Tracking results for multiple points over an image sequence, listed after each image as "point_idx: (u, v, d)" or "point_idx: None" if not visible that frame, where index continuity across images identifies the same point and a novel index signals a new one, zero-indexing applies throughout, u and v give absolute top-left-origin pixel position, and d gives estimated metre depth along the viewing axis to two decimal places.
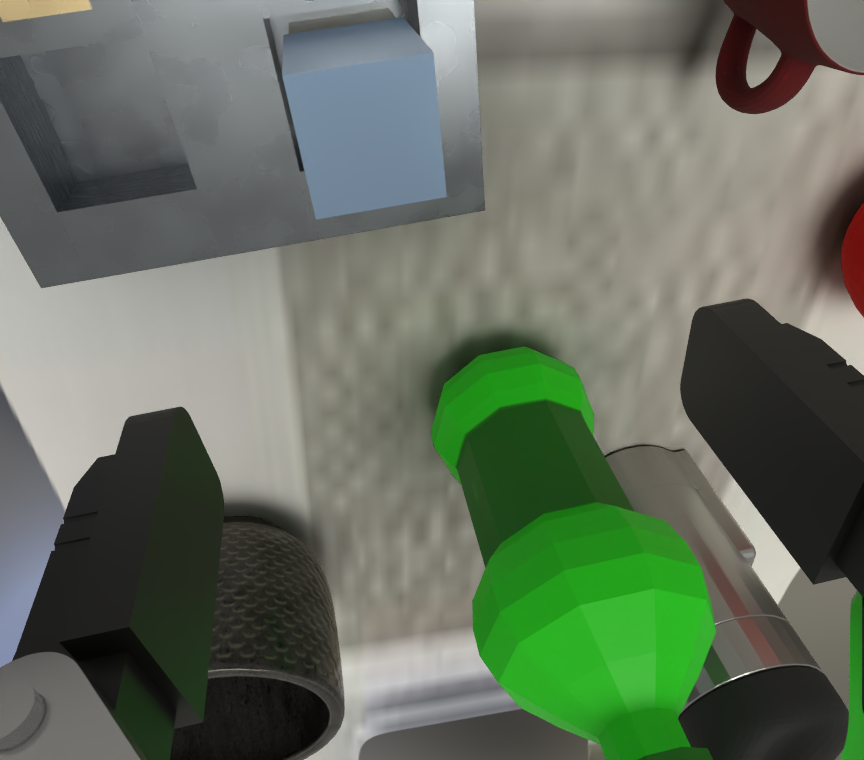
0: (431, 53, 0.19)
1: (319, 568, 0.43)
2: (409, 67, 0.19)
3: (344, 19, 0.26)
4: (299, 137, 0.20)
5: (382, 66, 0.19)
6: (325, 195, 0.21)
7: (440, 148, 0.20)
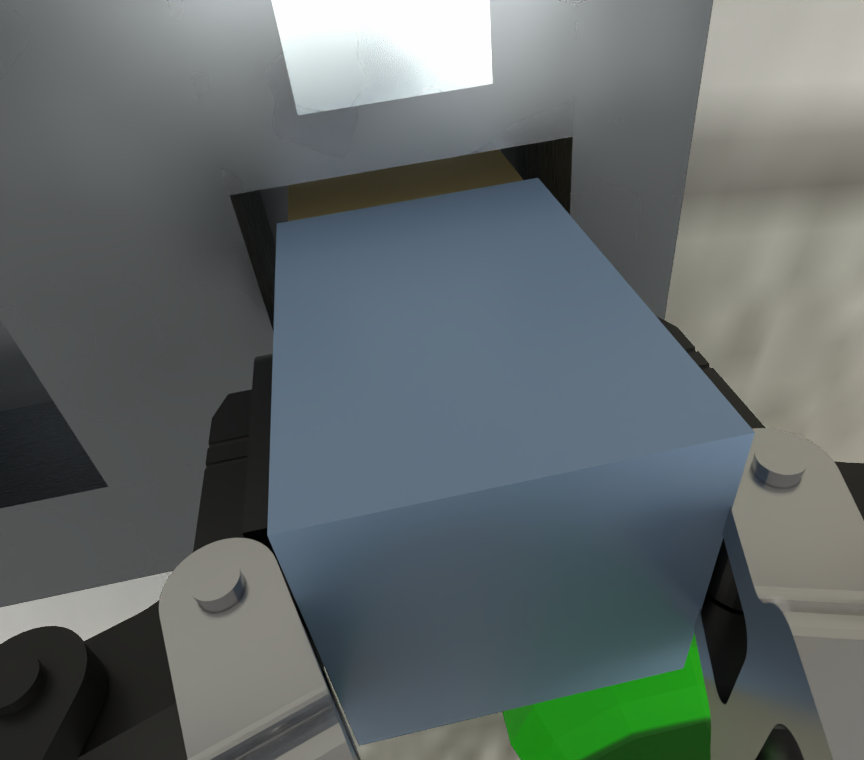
0: (748, 435, 0.06)
1: None
2: (672, 472, 0.06)
3: None
4: (320, 638, 0.07)
5: (593, 477, 0.06)
6: (386, 711, 0.08)
7: (699, 603, 0.08)
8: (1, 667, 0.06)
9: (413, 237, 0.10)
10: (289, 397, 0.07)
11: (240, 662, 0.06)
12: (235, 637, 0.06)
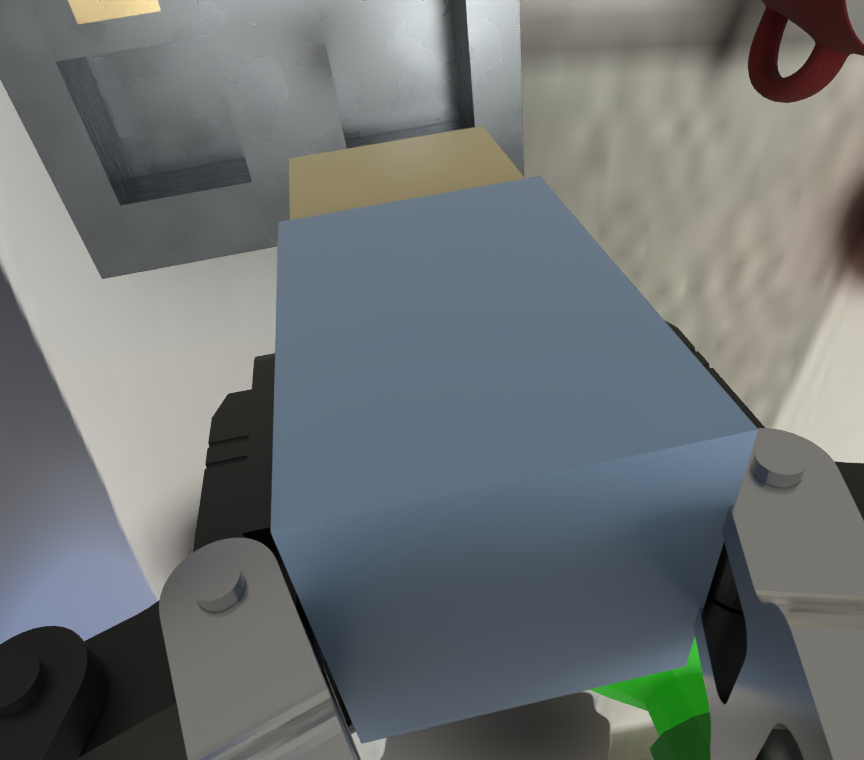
0: (751, 432, 0.06)
1: None
2: (675, 468, 0.06)
3: (402, 159, 0.13)
4: (321, 635, 0.07)
5: (596, 475, 0.06)
6: (388, 709, 0.08)
7: (701, 601, 0.08)
8: (1, 667, 0.06)
9: (415, 235, 0.10)
10: (292, 395, 0.07)
11: (240, 662, 0.06)
12: (236, 637, 0.06)
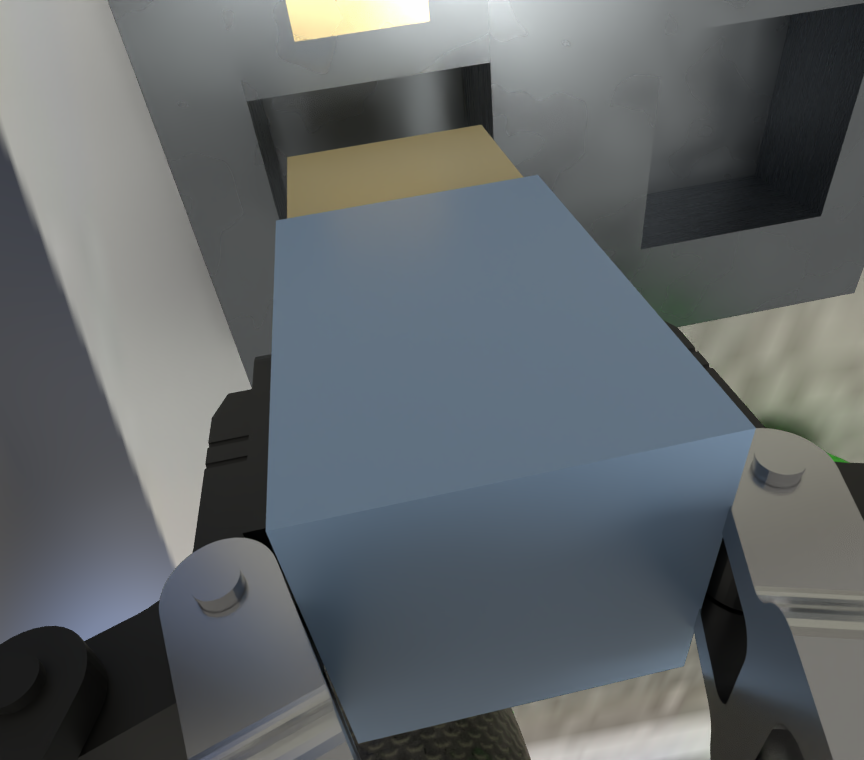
0: (749, 431, 0.06)
1: None
2: (673, 467, 0.06)
3: (400, 158, 0.13)
4: (317, 635, 0.07)
5: (593, 475, 0.06)
6: (385, 709, 0.08)
7: (699, 600, 0.08)
8: (1, 667, 0.06)
9: (413, 234, 0.10)
10: (288, 393, 0.07)
11: (240, 661, 0.06)
12: (235, 636, 0.06)
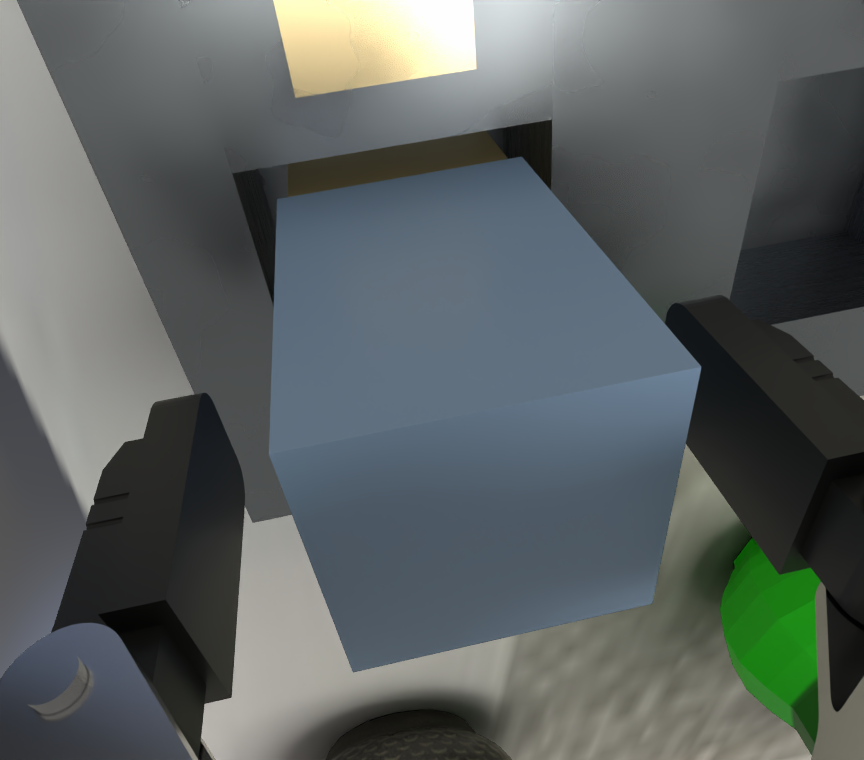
0: (695, 369, 0.07)
1: None
2: (628, 402, 0.07)
3: None
4: (315, 558, 0.07)
5: (557, 407, 0.07)
6: (377, 637, 0.09)
7: (662, 536, 0.08)
8: None
9: (403, 209, 0.10)
10: (288, 344, 0.08)
11: None
12: (83, 733, 0.05)
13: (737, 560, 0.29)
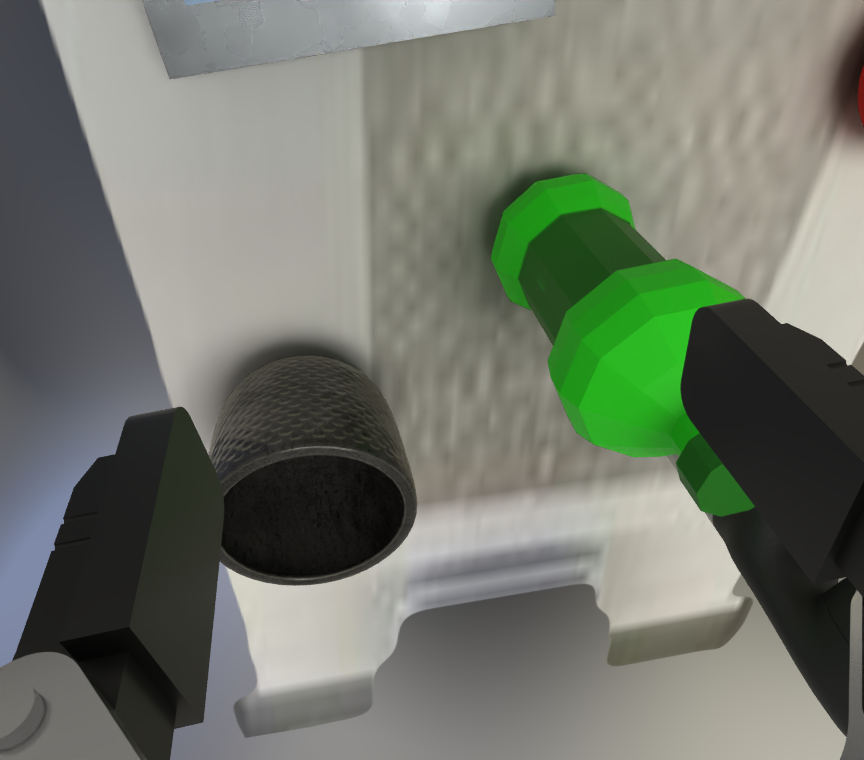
0: None
1: (384, 399, 0.47)
2: None
3: None
4: None
5: None
6: None
7: None
8: None
9: None
10: None
11: None
12: None
13: None
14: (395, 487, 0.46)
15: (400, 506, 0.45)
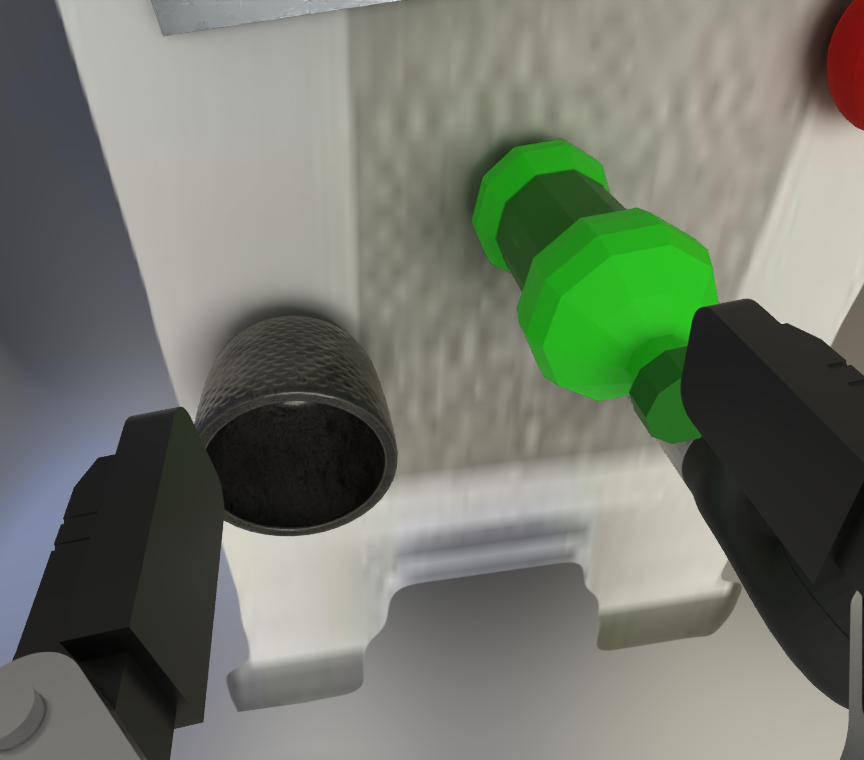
0: None
1: (370, 360, 0.49)
2: None
3: None
4: None
5: None
6: None
7: None
8: None
9: None
10: None
11: None
12: None
13: None
14: (378, 444, 0.47)
15: (382, 461, 0.46)
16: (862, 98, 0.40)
